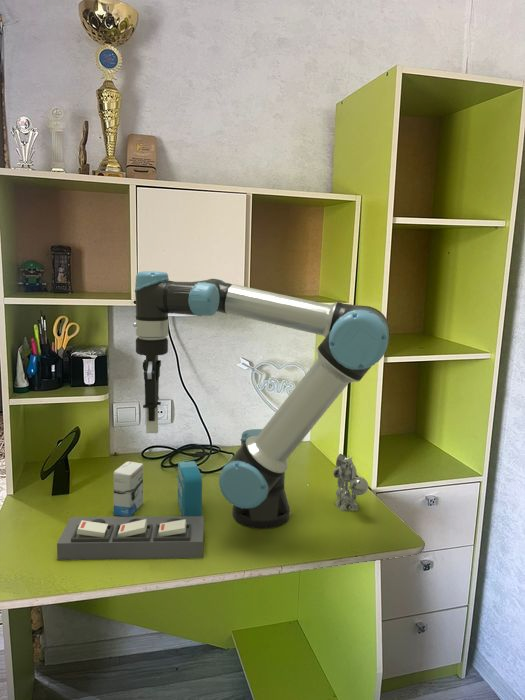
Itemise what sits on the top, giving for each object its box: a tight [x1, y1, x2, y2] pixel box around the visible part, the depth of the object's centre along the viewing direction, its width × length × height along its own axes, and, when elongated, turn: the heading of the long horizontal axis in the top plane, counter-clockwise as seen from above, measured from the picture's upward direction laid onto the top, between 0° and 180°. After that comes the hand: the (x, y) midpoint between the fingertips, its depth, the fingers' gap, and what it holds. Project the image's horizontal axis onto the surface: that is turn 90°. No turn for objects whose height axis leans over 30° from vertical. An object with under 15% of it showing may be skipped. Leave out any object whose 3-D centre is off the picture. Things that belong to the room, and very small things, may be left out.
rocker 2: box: [158, 519, 187, 537], centre depth 127 cm, size 6×4×1 cm, turn 95°
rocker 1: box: [77, 520, 108, 538], centre depth 125 cm, size 6×4×1 cm, turn 95°
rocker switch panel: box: [56, 515, 205, 561], centre depth 129 cm, size 32×12×5 cm, turn 95°
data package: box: [177, 460, 203, 516], centre depth 146 cm, size 12×4×12 cm, turn 17°
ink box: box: [112, 461, 144, 517], centre depth 146 cm, size 8×5×12 cm, turn 168°
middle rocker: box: [118, 519, 148, 537], centre depth 126 cm, size 6×4×1 cm, turn 95°
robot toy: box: [332, 453, 369, 512], centre depth 150 cm, size 15×6×15 cm, turn 17°
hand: (152, 432), depth 135 cm, fingers closed
